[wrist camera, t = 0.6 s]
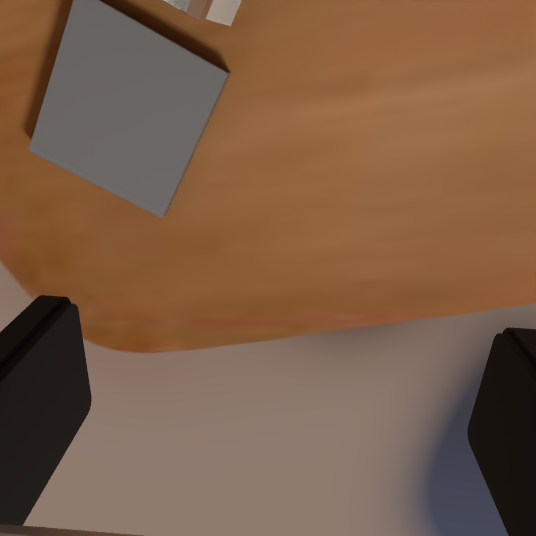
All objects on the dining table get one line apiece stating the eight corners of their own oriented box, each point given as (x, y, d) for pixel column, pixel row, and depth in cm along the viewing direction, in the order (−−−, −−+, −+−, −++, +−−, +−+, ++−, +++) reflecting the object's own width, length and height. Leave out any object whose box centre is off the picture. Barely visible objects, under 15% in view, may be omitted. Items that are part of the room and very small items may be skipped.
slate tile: (85, -10, 35) (77, -12, 33) (230, 72, 36) (227, 73, 35) (37, 147, 40) (28, 150, 38) (166, 212, 42) (162, 218, 40)
